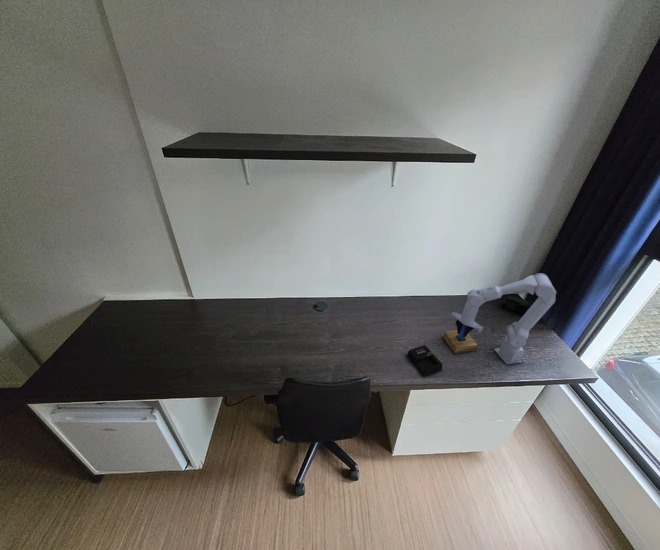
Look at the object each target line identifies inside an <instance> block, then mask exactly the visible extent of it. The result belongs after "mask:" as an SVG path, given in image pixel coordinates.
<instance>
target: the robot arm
mask: <svg viewBox="0 0 660 550" xmlns="http://www.w3.org/2000/svg"><path fill="white" fill-rule="evenodd" d="M519 292H525V293H528V294H530V295H536V296H537V298H536V299H535V301H534V302H533V303H532V305H531V306H530V307H529V308H527V309H528V310H526V311H525V313H524V314H522V315H523V316H522V317H520V318H519V320H518V321H514V322H513V323H511V324H510V325H508V326H507V327H506V328H505V331H506V334H505V336H504V338H503V340H502V342H501V345H500V347H497V348H494V349H493V350H494V351H495V353H496V354H497V355H498V356H499V357H500V358H501V360H502V361H503V362H504V363H505V364H506V365H513V364H519V363H522V362H523V361H522V360H523V358H524V356H525V354H526V351H525V350H524V349H523V347H524V346H525V345H526V344H527V343H526V342H527V340H528V339H529V335H530V330H531V329H532V328H533V327H534V326H535V325H536V324H537V323H538V322H539V320H540V319H541V318H542V317H543V316H544V315H545V314H546V313H547V312H548V310H549V309H550V308H552V306H553V305H554V304H555V303H556V295H557V291H556V289H555V287H554V286H553V283H552V281H551V280H550V278H549V276H548V275H547V274H545V273H541V272H539V273H535V274H532V275H528V276H526V277H525V278H524V279H521V280H518V281H515V282H511V283H508V284H505V285H502V286H498V285H489V286H487V287H485V288H481V289H479V288H478V289H477V288H475V289H471V290H469V291H467V293H466V294H467V300H466V301H465V303H464V307H463V310H462V313H461V314H460V313H457V312H455V311H453V312H452V313H451V315H450V317H451V318H455V320H456V321H455V325H456V326H455V327H456V330H457V333H458V334H459V332H460V329H461V326H462V324H464V325H467V326H468V327H466V331H465V334H464V337H466V336H467V335H468V334H470V332H472V331H473V330H474V329H475V330H477V332H479V333H481V332H482V331H483V329H484V327H483V326H482V325H481V324H479V323H478V322H477V321H475V319H476V317H477V314H478V311H479V308H480V306H482V305H484V303H486V302H491V301H494V300H497V299H501V298H502V296H503V295H508V294H514V293H519Z"/></svg>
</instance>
